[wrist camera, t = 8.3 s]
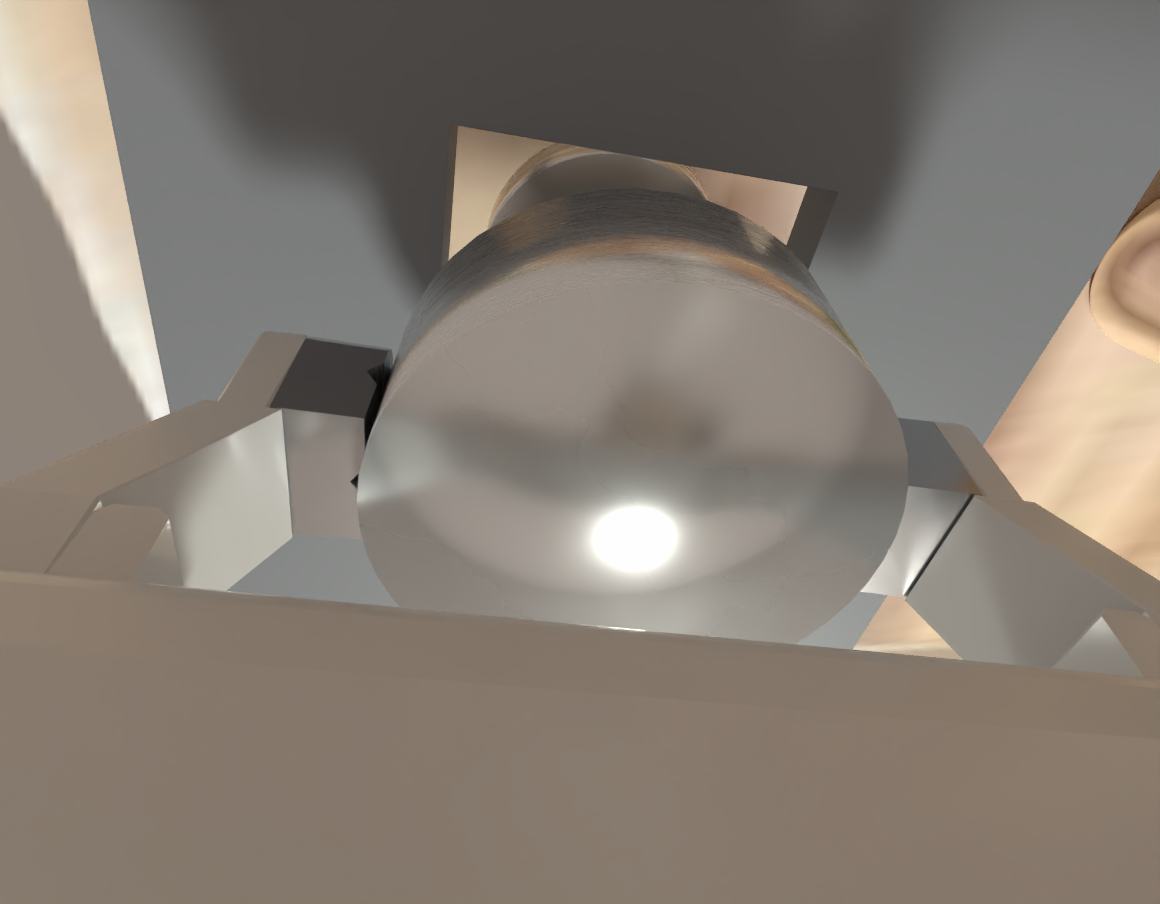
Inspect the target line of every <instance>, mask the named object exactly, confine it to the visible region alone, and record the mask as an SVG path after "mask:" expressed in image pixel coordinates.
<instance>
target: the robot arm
mask: <svg viewBox="0 0 1160 904" xmlns="http://www.w3.org/2000/svg"><path fill="white" fill-rule="evenodd" d="M392 367H393V353H392V349H389V348H383V347H376V346H370V345H363V344H357V343H350V342H344V341H338V340H331V339H325V338H318V337H312V336H311V337H308V336H307V335H301V334H293V333H285V332H276V331H265V332H262V333H261V334H260V335H259V337H258V338H257V340H256V342H255V343H254V345H253V346H252V348H251V349H250V351H249V352H248V354H247V355H246V357H245V359H244V360H243V362H242V363H241V365H240V366H239V368H238V369H237V371H236V373H235V374H234V376H233V377H232V379H231V380H230V382H229V383H228V385H227V386H226V388H225V390H224V391H223V393H222V394H221V396H220V397H219V399H218V400H217V401H212V400H202V401H199V402H197V403H195V404H192V405H190V406H187V407H185V408H183V409H180V410H178V411H176V412H173V413H171V414H168V415H166V416H164V417H161V418H159V419H156V420H154V421H152V422H149V423H147V424H145V425H142V426H140V427H138V428H135V429H132V430H130V431H128V432H125V433H123V434H121V435H118V436H116V437H113V438H111V439H108V440H106V441H104V442H102V443H99V444H97V445H95V446H92V447H89V448H87V449H85V450H82V451H80V452H77V453H75V454H73V455H71V456H68V457H65V458H63V459H61V460H58V461H56V462H53V463H51V464H49V465H46V466H44V467H42V468H39V469H37V470H34V471H32V472H30V473H27V474H25V475H22V476H20V477H18V478H16V479H13V480H10V481H8V482H6V483H3V484H1V485H0V904H1160V581H1159V580H1157V579H1156V578H1154V577H1153V576H1151V575H1149V574H1148V573H1146V572H1145V571H1143V570H1141V569H1140V568H1138V567H1137V566H1135V565H1133V564H1132V563H1130V562H1129V561H1127V560H1125V559H1124V558H1122V557H1121V556H1119V555H1117V554H1116V553H1114V552H1113V551H1111V550H1109V549H1108V548H1106V547H1105V546H1103V545H1101V544H1100V543H1098V542H1097V541H1095V540H1094V539H1092V538H1090V537H1089V536H1087V535H1086V534H1084V533H1082V532H1081V531H1079V530H1078V529H1076V528H1074V527H1073V526H1071V525H1070V524H1068V523H1066V522H1065V521H1063V520H1062V519H1060V518H1058V517H1057V516H1055V515H1054V514H1052V513H1050V512H1049V511H1047V510H1046V509H1044V508H1042V507H1041V506H1039V505H1038V504H1036V503H1034V502H1027V501H1023V500H1022V498H1021V497H1020V496H1019V494H1018V493H1017V492H1016V490H1015V489H1014V487H1013V486H1012V485H1011V483H1010V482H1009V481H1008V479H1007V478H1006V477H1005V475H1004V474H1003V473H1002V471H1001V470H1000V469H999V467H998V466H997V465H996V463H995V462H994V461H993V459H992V458H991V457H990V455H989V454H988V453H987V451H986V450H985V448H984V447H983V446H982V444H981V443H980V442H979V440H978V439H977V438H976V436H975V435H974V434H973V432H972V431H971V430H970V429H969V428H967V427H965V426H963V425H961V424H955V423H945V422H934V421H923V420H914V419H905V418H898V421H899V423H900V425H901V428H902V431H903V436H904V441H905V445H906V450H907V455H908V483H909V484H908V490H907V497H906V503H905V510H904V513H903V516H902V519H901V522H900V525H899V528H898V531H897V534H896V537H895V539H894V541H893V543H892V545H891V547H890V549H889V550H888V552H887V554H886V556H885V558H884V560H883V562H882V563H881V565H880V566H879V567H878V569H877V570H876V572H875V573H874V574H873V576H872V577H871V579H870V580H869V582H868V583H867V584H866V585H865V586H864V587H863V588H862V590H861V591H860V592H867V593H874V594H882V595H890V596H897V597H905V598H906V599H905V601H906V602H907V603H908V604H909V605H910V606H911V607H912V608H913V609H914V610H915V611H916V612H917V613H918V614H919V615H920V616H921V617H922V618H923V619H924V620H925V621H926V622H927V623H928V624H929V625H930V626H931V627H932V628H933V629H934V630H935V631H936V632H937V633H938V634H939V635H940V636H941V637H942V638H943V639H944V640H945V641H946V642H947V644H948V645H949V646H950V647H951V648H952V649H953V650H954V651H955V652H956V653H957V654H958V655H959V656H960V657H961V658H962V659H963V660H957V659H945V658H936V657H925V656H914V655H904V654H893V653H883V652H872V651H861V650H851V649H840V648H830V647H819V646H808V645H797V644H787V643H776V642H765V641H754V640H743V639H732V638H721V637H710V636H700V635H689V634H679V633H668V632H657V631H647V630H636V629H626V628H615V627H604V626H594V625H583V624H572V623H562V622H551V621H541V620H530V619H519V618H509V617H498V616H488V615H477V614H466V613H456V612H445V611H434V610H424V609H413V608H403V607H392V606H381V605H371V604H360V603H350V602H339V601H328V600H318V599H307V598H296V597H286V596H275V595H265V594H254V593H243V592H233V591H226V590H228V589H229V588H230V587H231V586H233V585H234V584H235V583H236V582H238V581H239V580H240V579H241V578H243V577H244V576H245V575H246V574H248V573H249V572H250V571H251V570H253V569H254V568H255V567H256V566H258V565H259V564H260V563H261V562H263V561H264V560H265V559H266V558H267V557H269V556H270V555H271V554H272V553H274V552H275V551H276V550H277V549H279V548H280V547H281V546H282V545H284V544H285V543H286V542H287V541H289V540H290V539H291V538H292V534H302V535H315V536H328V537H340V538H353V539H362V536H361V532H360V529H359V520H358V510H357V490H358V478H359V471H360V467H361V464H362V460H363V456H364V452H365V449H366V445H367V442H368V439H369V436H370V433H371V430H372V427H373V424H374V421H375V418H376V415H377V412H378V409H379V406H380V403H381V400H382V397H383V394H384V391H385V388H386V385H387V382H388V379H389V376H390V373H391V370H392Z"/></svg>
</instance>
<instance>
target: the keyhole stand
mask: <svg viewBox="0 0 1160 904" xmlns="http://www.w3.org/2000/svg"><path fill="white" fill-rule="evenodd" d="M88 5H89V10H90V15H91V20H92V25H93V30H94V35H95V40H96V45H97V50H98V55H99V60H100V65H101V70H102V75H103V80H104V85H105V90H106V95H107V100H108V105H109V110H110V115H111V120H112V125H113V130H114V135H115V140H116V145H117V150H118V155H119V160H120V165H121V170H122V175H123V180H124V185H125V190H126V195H127V200H128V205H129V210H130V215H131V220H132V225H133V230H134V235H135V240H136V244H137V249H138V254H139V259H140V264H141V269H142V274H143V279H144V284H145V289H146V294H147V299H148V304H149V309H150V314H151V319H152V324H153V329H154V334H155V339H156V344H157V349H158V354H159V359H160V364H161V369H162V374H163V379H164V384H165V389H166V394H167V399H168V404H169V409H170V414H171V413H173V412H176V411H178V410H180V409H183V408H185V407H187V406H190V405H192V404H195V403H197V402H199V401H202V400H212V401H217V400H218V399H219V397H220V396H221V394H222V393H223V391H224V390H225V388H226V386H227V385H228V383H229V382H230V380H231V379H232V377H233V376H234V374H235V373H236V371H237V369H238V368H239V366H240V365H241V363H242V362H243V360H244V359H245V357H246V355H247V354H248V352H249V351H250V349H251V348H252V346H253V345H254V343H255V342H256V340H257V338H258V337H259V335H260V334H261V333H262V332H265V331H276V332H285V333H293V334H301V335H307V336H308V337H311V336H312V337H318V338H325V339H331V340H338V341H344V342H350V343H357V344H363V345H370V346H376V347H383V348H389V349H392V353H393V364H394V361H395V358H396V355H397V352H398V349H399V346H400V343H401V340H402V337H403V334H404V331H405V328H406V326H407V324H408V322H409V319H410V317H411V315H412V313H413V311H414V308H415V306H416V304H417V302H418V301H419V299H420V298H421V296H422V295H423V293H424V292H425V290H426V289H427V287H428V285H429V284H430V282H431V281H432V279H433V278H434V277H435V276H436V275H437V274H438V273H439V272H440V270H441V269H442V268H443V267H444V266H445V265H446V264H447V263H448V260H449V246H450V231H451V217H452V203H453V188H454V174H455V159H456V145H457V130H458V126H464V127H470V128H476V129H481V130H487V131H493V132H498V133H504V134H510V135H516V136H521V137H527V138H533V139H539V140H544V141H550V142H556V143H562V144H567V145H573V146H579V147H585V148H590V149H596V150H602V151H608V152H613V153H619V154H625V155H631V156H636V157H642V158H648V159H653V160H659V161H665V162H671V163H676V164H682V165H688V166H694V167H699V168H705V169H711V170H717V171H722V172H728V173H734V174H740V175H745V176H751V177H757V178H763V179H768V180H774V181H780V182H785V183H791V184H797V185H803V186H808V187H807V190H806V193H805V195H804V198H803V201H802V204H801V206H800V209H799V212H798V215H797V218H796V220H795V223H794V226H793V229H792V231H791V234H790V237H789V240H788V243H787V245H786V246H787V247H788V248H789V249H790V250H791V251H792V252H793V253H794V254H795V256H796V257H797V258H798V259H799V260H800V261H801V262H802V263H803V264H804V265H805V266H806V268H807V269H808V270H809V272H810V273H811V275H812V276H813V278H814V279H815V281H816V283H817V284H818V286H819V287H820V289H821V290H822V292H823V293H824V295H825V297H826V298H827V300H828V301H829V303H830V305H831V306H832V308H833V309H834V311H835V313H836V314H837V316H838V318H839V319H840V321H841V322H842V324H843V326H844V327H845V329H846V330H847V332H848V334H849V335H850V337H851V339H852V340H853V342H854V343H855V345H856V347H857V348H858V350H859V351H860V353H861V355H862V356H863V358H864V360H865V361H866V363H867V364H868V366H869V368H870V369H871V371H872V372H873V374H874V376H875V377H876V379H877V381H878V382H879V384H880V385H881V387H882V389H883V390H884V392H885V393H886V395H887V397H888V398H889V400H890V402H891V404H892V406H893V409H894V411H895V413H896V416H897V418H905V419H914V420H923V421H934V422H945V423H955V424H961V425H963V426H965V427H967V428H969V429H970V430H971V431H972V432H973V434H974V435H975V436H976V438H977V439H978V440H979V442H980V443H981V444H982V446H983V445H984V443H985V442H986V440H987V438H988V437H989V435H990V434H991V432H992V431H993V429H994V428H995V426H996V424H997V423H998V421H999V420H1000V418H1001V417H1002V415H1003V413H1004V412H1005V410H1006V409H1007V407H1008V406H1009V404H1010V402H1011V401H1012V399H1013V398H1014V396H1015V395H1016V393H1017V392H1018V390H1019V388H1020V387H1021V385H1022V384H1023V382H1024V381H1025V379H1026V377H1027V376H1028V374H1029V373H1030V371H1031V370H1032V368H1033V367H1034V365H1035V363H1036V362H1037V360H1038V359H1039V357H1040V356H1041V354H1042V352H1043V351H1044V349H1045V348H1046V346H1047V345H1048V343H1049V341H1050V340H1051V338H1052V337H1053V335H1054V334H1055V332H1056V331H1057V329H1058V327H1059V326H1060V324H1061V323H1062V321H1063V320H1064V318H1065V316H1066V315H1067V313H1068V312H1069V310H1070V309H1071V307H1072V306H1073V304H1074V302H1075V301H1076V299H1077V298H1078V296H1079V295H1080V293H1081V291H1082V290H1083V288H1084V287H1085V285H1086V284H1087V282H1088V281H1089V279H1090V277H1091V276H1092V274H1093V273H1094V271H1095V270H1096V268H1097V266H1098V265H1099V263H1100V262H1101V260H1102V259H1103V257H1104V255H1105V254H1106V252H1107V251H1108V249H1109V248H1110V246H1111V245H1112V243H1113V241H1114V240H1115V238H1116V237H1117V235H1118V234H1119V232H1120V230H1121V229H1122V227H1123V226H1124V224H1125V223H1126V221H1127V220H1128V218H1129V216H1130V215H1131V213H1132V212H1133V210H1134V209H1135V207H1136V205H1137V204H1138V202H1139V201H1140V199H1141V198H1142V196H1143V194H1144V193H1145V191H1146V190H1147V188H1148V187H1149V185H1150V184H1151V182H1152V180H1153V179H1154V177H1155V176H1156V174H1157V173H1158V171H1159V169H1160V0H88ZM226 591H233V592H243V593H254V594H265V595H275V596H286V597H296V598H307V599H318V600H328V601H339V602H350V603H360V604H371V605H381V606H392V607H400V606H399V605H398V604H397V603H396V602H395V601H394V599H393V598H392V597H391V596H390V594H389V593H388V591H387V590H386V588H385V587H384V585H383V584H382V582H381V581H380V579H379V578H378V576H377V574H376V572H375V570H374V568H373V566H372V564H371V562H370V560H369V557H368V555H367V553H366V550H365V546H364V543H363V539H353V538H340V537H328V536H315V535H302V534H292V538H291V539H290V540H289V541H287V542H286V543H285V544H284V545H282V546H281V547H280V548H279V549H277V550H276V551H275V552H274V553H272V554H271V555H270V556H269V557H267V558H266V559H265V560H264V561H263V562H261V563H260V564H259V565H258V566H256V567H255V568H254V569H253V570H251V571H250V572H249V573H248V574H246V575H245V576H244V577H243V578H241V579H240V580H239V581H238V582H236V583H235V584H234V585H233V586H231V587H230V588H229V589H228V590H226ZM886 596H887V595H882V594H874V593H867V592H859V593H858V594H857V595H856V596H855V597H854V598H853V599H852V601H851V602H850V603H849V604H848V605H846V606H845V607H844V608H843V609H842V610H841V611H840V612H838V613H837V614H836V615H835V616H834V617H833V618H832V619H830V620H829V621H828V622H827V623H825V624H824V625H823V626H821V627H820V628H818V629H817V630H815V631H814V632H813V633H811V634H810V635H808V636H807V637H806V638H804V639H802V640H800V641H799V642H797V643H795V644H797V645H808V646H819V647H830V648H840V649H851V650H853V648H854V646H855V645H856V643H857V642H858V640H859V639H860V637H861V635H862V634H863V632H864V631H865V629H866V628H867V626H868V625H869V623H870V621H871V620H872V618H873V617H874V615H875V614H876V612H877V610H878V609H879V607H880V606H881V604H882V603H883V601H884V600H885V598H886Z"/></svg>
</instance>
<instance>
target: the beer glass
mask: <svg viewBox="0 0 1160 904" xmlns="http://www.w3.org/2000/svg"><path fill="white" fill-rule="evenodd" d="M1090 308H1091V313H1092V316H1093V318H1094V320H1095V322H1096V324H1097V326H1098V327H1099V328H1100V330H1101V331H1102V332H1103V333H1104V334H1105V335H1106V336H1107V337H1108V338H1110V339H1111V340H1113V341H1114V342H1116V343H1118V344H1119V345H1121V346H1123V347H1125V348H1127V349H1129V350H1131V351H1133V352H1135V353H1138V354H1140V355H1142V356H1144V357H1146V358H1148V359H1150V360H1152V361H1154V362H1156V363H1158V364H1160V198H1159V199H1157V200H1156V201H1154V202H1153V203H1152V204H1150V205H1149V206H1148V207H1146V208H1145V209H1144V210H1142V211H1141V212H1140V213H1139V214H1138V215H1137V216H1135V217H1134V218H1133V219H1132V220H1131V221H1130V222H1129V223H1128V224H1127V225H1126V226H1125V227H1124V228H1123V229H1122V231H1121V232H1120V233H1119V234H1118V235H1117V237H1116V238H1115V240H1114V241H1113V243H1112V245H1111V246H1110V248H1109V249H1108V251H1107V252H1106V254H1105V255H1104V257H1103V259H1102V260H1101V262H1100V263H1099V265H1098V267H1097V269H1096V271H1095V274H1094V277H1093V280H1092V284H1091V290H1090Z"/></svg>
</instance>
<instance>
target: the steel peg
mask: <svg viewBox="0 0 1160 904" xmlns="http://www.w3.org/2000/svg"><path fill="white" fill-rule="evenodd" d="M908 484H909V483H908V455H907V450H906V445H905V441H904V436H903V431H902V428H901V425H900V423H899V421H898V418H897V416H896V413H895V411H894V409H893V406H892V404H891V402H890V400H889V398H888V397H887V395H886V393H885V392H884V390H883V389H882V387H881V385H880V384H879V382H878V381H877V379H876V377H875V376H874V374H873V372H872V371H871V369H870V368H869V366H868V364H867V363H866V361H865V360H864V358H863V356H862V355H861V353H860V351H859V350H858V348H857V347H856V345H855V343H854V342H853V340H852V339H851V337H850V335H849V334H848V332H847V330H846V329H845V327H844V326H843V324H842V322H841V321H840V319H839V318H838V316H837V314H836V313H835V311H834V309H833V308H832V306H831V305H830V303H829V301H828V300H827V298H826V297H825V295H824V293H823V292H822V290H821V289H820V287H819V286H818V284H817V283H816V281H815V279H814V278H813V276H812V275H811V273H810V272H809V270H808V269H807V268H806V266H805V265H804V264H803V263H802V262H801V261H800V260H799V259H798V258H797V257H796V256H795V254H794V253H793V252H792V251H791V250H790V249H789V248H788V247H787V246H786V245H785V244H783V243H782V242H781V241H780V240H778V239H777V238H776V237H775V236H773V235H772V234H771V233H769V232H768V231H767V230H766V229H764V228H763V227H761V226H760V225H758V224H756V223H754V222H753V221H751V220H749V219H747V218H746V217H744V216H742V215H740V214H739V213H737V212H735V211H732V210H730V209H727V208H724V207H722V206H719V205H717V204H714V203H712V202H709V200H708V198H707V196H706V194H705V192H704V190H703V188H702V186H701V185H700V183H699V182H698V180H697V179H696V178H695V176H694V175H693V173H692V172H691V171H690V170H689V169H688V168H687V167H686V166H685V165H682V164H676V163H671V162H665V161H659V160H653V159H648V158H642V157H636V156H631V155H625V154H619V153H613V152H608V151H602V150H596V149H590V148H585V147H579V146H573V145H567V144H562V143H556V144H553V145H551V146H549V147H547V148H545V149H544V150H542V151H540V152H539V153H537V154H536V155H534V156H533V157H531V158H530V159H529V160H528V161H527V162H525V163H524V164H523V165H522V166H521V167H520V168H519V169H518V170H517V171H516V172H515V173H514V174H513V176H512V177H511V178H510V179H509V180H508V182H507V183H506V185H505V186H504V188H503V189H502V191H501V192H500V194H499V196H498V198H497V201H496V203H495V205H494V207H493V210H492V213H491V216H490V219H489V224H488V229H487V231H485V232H483V233H482V234H480V235H479V236H477V237H476V238H475V239H473V240H472V241H471V242H470V243H469V244H467V245H466V246H465V247H464V248H463V249H461V250H460V251H459V252H458V253H457V254H455V255H454V256H453V257H452V258H451V259H450V260H449V261H448V263H447V264H446V265H445V266H444V267H443V268H442V269H441V270H440V272H439V273H438V274H437V275H436V276H435V277H434V278H433V279H432V281H431V282H430V284H429V285H428V287H427V289H426V290H425V292H424V293H423V295H422V296H421V298H420V299H419V301H418V302H417V304H416V306H415V308H414V311H413V313H412V315H411V317H410V319H409V322H408V324H407V326H406V328H405V331H404V334H403V337H402V340H401V343H400V346H399V349H398V352H397V355H396V358H395V361H394V364H393V367H392V370H391V373H390V376H389V379H388V382H387V385H386V388H385V391H384V394H383V397H382V400H381V403H380V406H379V409H378V412H377V415H376V418H375V421H374V424H373V427H372V430H371V433H370V436H369V439H368V442H367V445H366V449H365V452H364V456H363V460H362V464H361V467H360V471H359V478H358V490H357V510H358V520H359V529H360V532H361V536H362V539H363V543H364V546H365V550H366V553H367V555H368V557H369V560H370V562H371V564H372V566H373V568H374V570H375V572H376V574H377V576H378V578H379V579H380V581H381V582H382V584H383V585H384V587H385V588H386V590H387V591H388V593H389V594H390V596H391V597H392V598H393V599H394V601H395V602H396V603H397V604H398V605H399V606H400V607H403V608H413V609H424V610H434V611H445V612H456V613H466V614H477V615H488V616H498V617H509V618H519V619H530V620H541V621H551V622H562V623H572V624H583V625H594V626H604V627H615V628H626V629H636V630H647V631H657V632H668V633H679V634H689V635H700V636H710V637H721V638H732V639H743V640H754V641H765V642H776V643H787V644H795V643H797V642H799V641H800V640H802V639H804V638H806V637H807V636H808V635H810V634H811V633H813V632H814V631H815V630H817V629H818V628H820V627H821V626H823V625H824V624H825V623H827V622H828V621H829V620H830V619H832V618H833V617H834V616H835V615H836V614H837V613H838V612H840V611H841V610H842V609H843V608H844V607H845V606H846V605H848V604H849V603H850V602H851V601H852V599H853V598H854V597H855V596H856V595H857V594H858V593H859V592H860V591H861V590H862V588H863V587H864V586H865V585H866V584H867V583H868V582H869V580H870V579H871V577H872V576H873V574H874V573H875V572H876V570H877V569H878V567H879V566H880V565H881V563H882V562H883V560H884V558H885V556H886V554H887V552H888V550H889V549H890V547H891V545H892V543H893V541H894V539H895V537H896V534H897V531H898V528H899V525H900V522H901V519H902V516H903V513H904V510H905V503H906V497H907V490H908Z"/></svg>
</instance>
